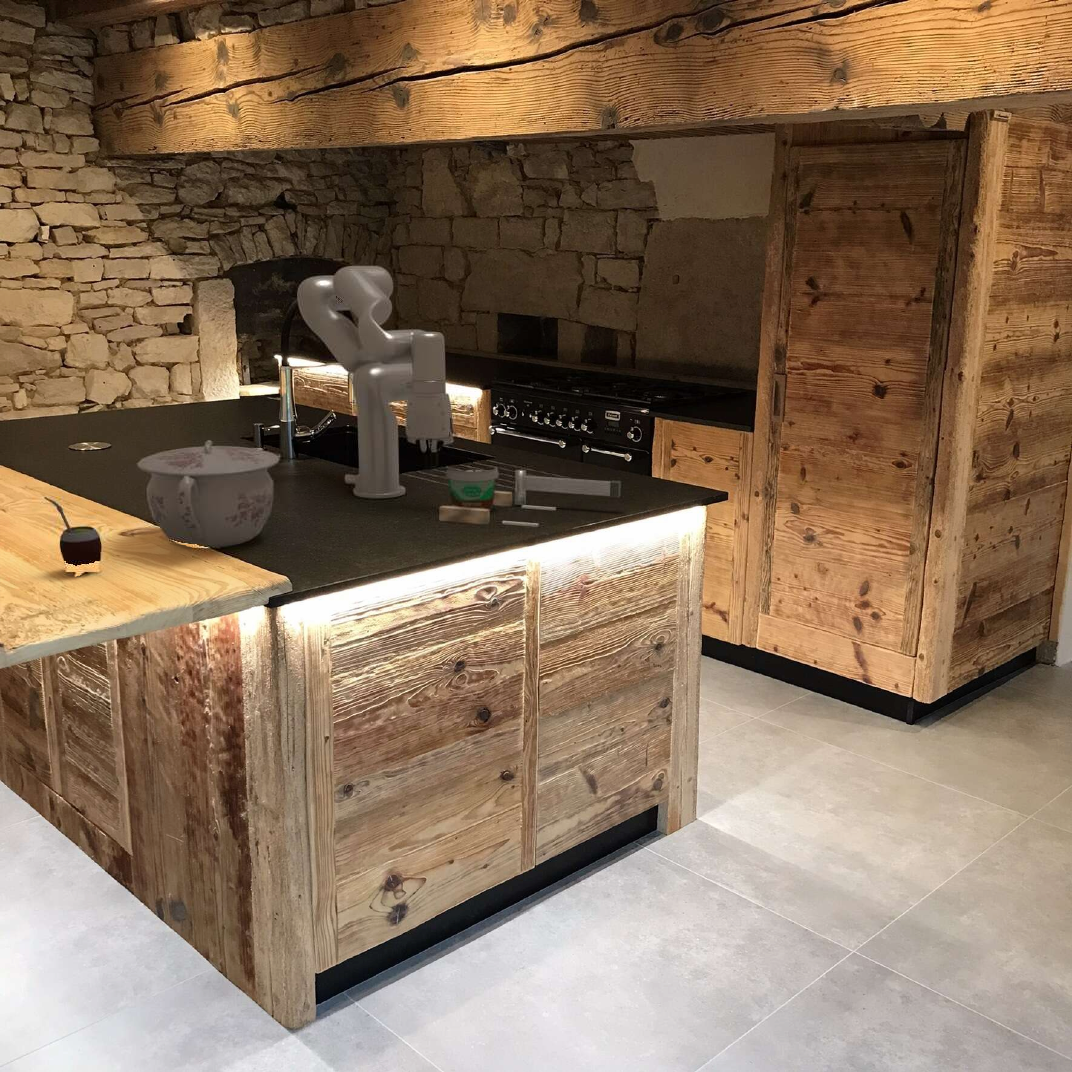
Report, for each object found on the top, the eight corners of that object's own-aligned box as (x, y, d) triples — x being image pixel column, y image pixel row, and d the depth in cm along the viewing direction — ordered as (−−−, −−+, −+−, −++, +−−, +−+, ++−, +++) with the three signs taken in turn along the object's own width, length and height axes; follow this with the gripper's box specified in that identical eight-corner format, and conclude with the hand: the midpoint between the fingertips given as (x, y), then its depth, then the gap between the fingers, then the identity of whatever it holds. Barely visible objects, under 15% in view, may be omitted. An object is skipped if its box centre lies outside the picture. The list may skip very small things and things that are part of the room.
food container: (450, 516, 245) (450, 473, 242) (445, 510, 250) (445, 467, 248) (504, 514, 248) (504, 471, 245) (497, 508, 254) (498, 465, 251)
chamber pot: (230, 517, 241) (225, 424, 236) (311, 539, 224) (307, 439, 219) (113, 542, 220) (104, 440, 215) (192, 568, 203) (185, 459, 198)
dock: (439, 520, 241) (439, 507, 240) (467, 501, 260) (467, 488, 259) (486, 524, 238) (486, 511, 238) (512, 504, 257) (512, 492, 256)
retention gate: (617, 512, 250) (619, 478, 248) (514, 504, 256) (514, 471, 254) (619, 510, 252) (620, 476, 250) (516, 502, 258) (517, 469, 256)
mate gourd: (109, 566, 204) (102, 488, 200) (94, 579, 196) (86, 497, 192) (68, 566, 203) (60, 487, 199) (51, 578, 196) (43, 497, 192)
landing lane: (502, 524, 239) (502, 521, 239) (522, 507, 255) (522, 504, 255) (537, 526, 237) (537, 524, 237) (555, 509, 253) (556, 507, 253)
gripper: (391, 388, 243) (394, 470, 247) (455, 390, 239) (457, 472, 243) (403, 385, 250) (406, 464, 254) (465, 386, 246) (467, 467, 250)
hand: (431, 468), depth 249 cm, fingers closed
